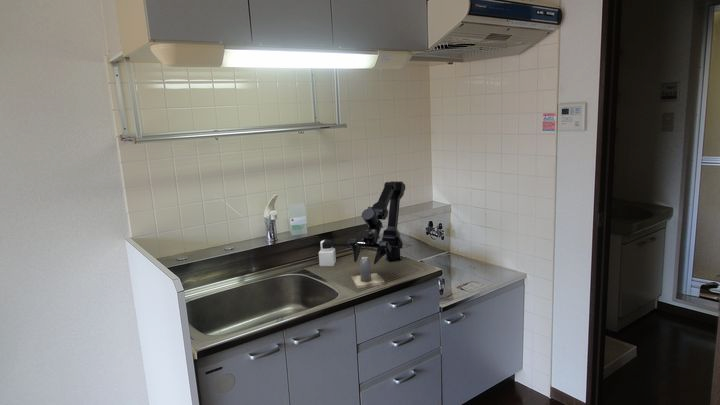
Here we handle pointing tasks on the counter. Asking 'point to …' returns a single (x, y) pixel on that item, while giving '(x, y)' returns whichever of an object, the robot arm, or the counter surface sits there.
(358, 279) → the birch board
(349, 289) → the counter surface
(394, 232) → the robot arm
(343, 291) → the counter surface
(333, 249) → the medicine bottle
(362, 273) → the white-capped grey cylinder
